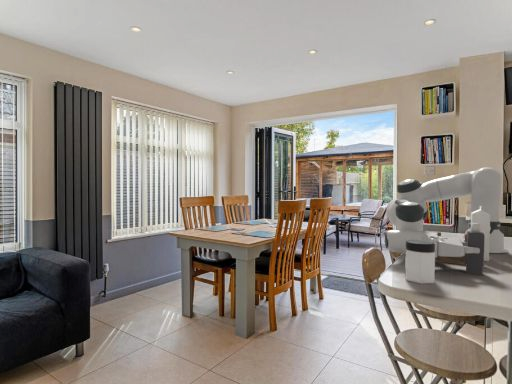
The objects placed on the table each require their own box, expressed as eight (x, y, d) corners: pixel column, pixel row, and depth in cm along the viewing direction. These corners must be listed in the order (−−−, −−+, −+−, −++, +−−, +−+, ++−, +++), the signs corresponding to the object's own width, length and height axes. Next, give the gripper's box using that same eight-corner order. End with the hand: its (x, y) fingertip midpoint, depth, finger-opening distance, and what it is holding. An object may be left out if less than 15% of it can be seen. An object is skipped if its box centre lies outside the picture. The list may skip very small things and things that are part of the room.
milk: (471, 259, 131) (472, 206, 131) (469, 256, 137) (470, 205, 136) (489, 261, 128) (490, 206, 128) (487, 258, 134) (488, 205, 133)
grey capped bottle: (466, 270, 113) (467, 222, 113) (481, 272, 111) (482, 223, 111) (467, 273, 109) (468, 223, 109) (482, 275, 107) (484, 224, 107)
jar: (403, 274, 106) (404, 238, 106) (431, 277, 103) (432, 240, 103) (405, 282, 98) (406, 242, 98) (435, 285, 95) (437, 245, 95)
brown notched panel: (423, 258, 131) (424, 230, 131) (482, 265, 121) (483, 235, 121) (423, 259, 129) (423, 231, 129) (483, 266, 119) (484, 235, 119)
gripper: (432, 248, 125) (474, 252, 119) (431, 258, 108) (481, 263, 101) (432, 232, 125) (475, 235, 118) (431, 239, 107) (482, 243, 101)
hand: (478, 248), depth 109 cm, fingers open, 7 cm apart
